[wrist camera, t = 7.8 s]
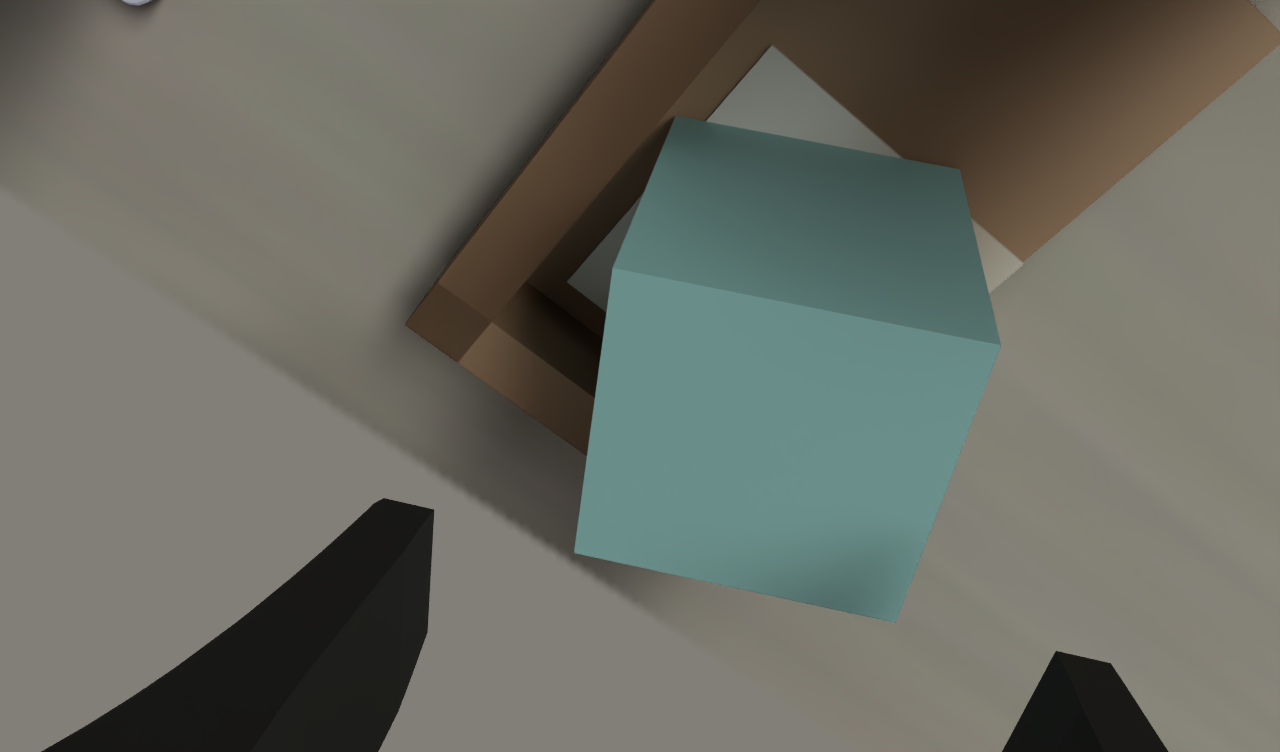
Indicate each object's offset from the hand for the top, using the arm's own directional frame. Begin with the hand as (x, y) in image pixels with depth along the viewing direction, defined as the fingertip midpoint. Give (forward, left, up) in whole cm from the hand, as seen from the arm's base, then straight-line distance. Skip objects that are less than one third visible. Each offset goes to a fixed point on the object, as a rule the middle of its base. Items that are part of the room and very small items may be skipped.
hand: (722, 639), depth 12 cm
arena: (-1, +2, -10) cm, 10 cm away
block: (0, 0, -9) cm, 9 cm away
